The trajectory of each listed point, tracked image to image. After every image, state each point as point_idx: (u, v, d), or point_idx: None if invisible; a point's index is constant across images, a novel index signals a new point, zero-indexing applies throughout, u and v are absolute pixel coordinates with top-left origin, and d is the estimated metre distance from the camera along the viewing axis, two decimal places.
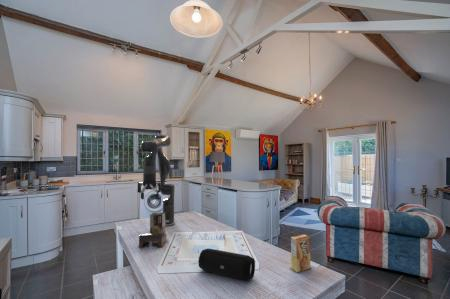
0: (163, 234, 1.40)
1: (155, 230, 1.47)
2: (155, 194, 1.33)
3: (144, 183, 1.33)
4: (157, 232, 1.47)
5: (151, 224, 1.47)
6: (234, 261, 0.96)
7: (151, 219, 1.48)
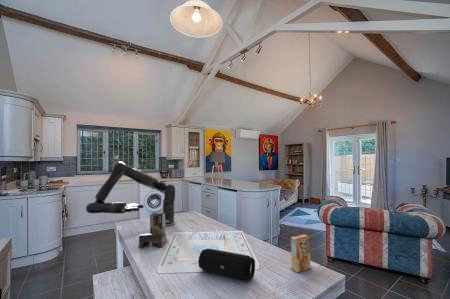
0: (163, 234, 1.40)
1: (155, 230, 1.47)
2: (134, 210, 1.46)
3: None
4: (157, 232, 1.47)
5: (151, 224, 1.47)
6: (234, 261, 0.96)
7: (151, 219, 1.48)
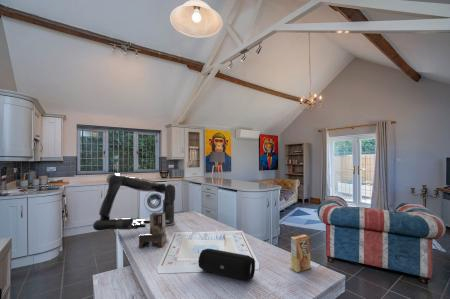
0: (163, 234, 1.40)
1: (155, 230, 1.47)
2: None
3: None
4: (157, 232, 1.47)
5: (151, 224, 1.47)
6: (234, 261, 0.96)
7: (151, 219, 1.48)
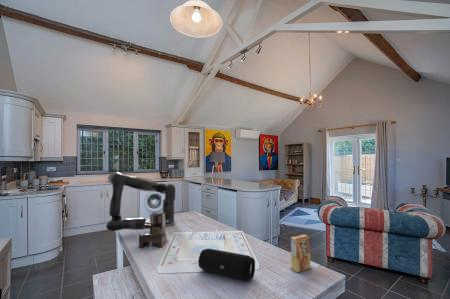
0: (163, 234, 1.40)
1: (155, 230, 1.47)
2: (155, 226, 1.47)
3: None
4: (157, 232, 1.47)
5: None
6: (234, 261, 0.96)
7: (151, 219, 1.48)
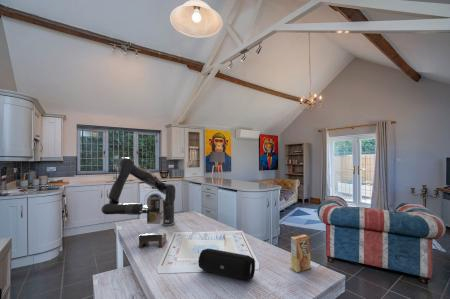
0: (163, 234, 1.40)
1: (152, 215, 1.41)
2: (152, 211, 1.41)
3: None
4: (154, 218, 1.41)
5: None
6: (234, 261, 0.96)
7: (148, 204, 1.41)
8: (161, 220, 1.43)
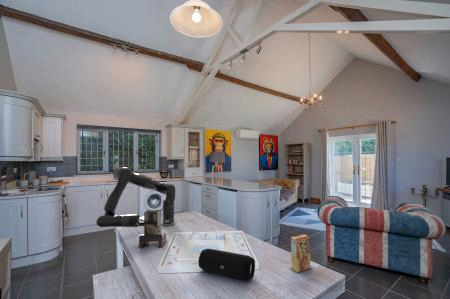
0: (163, 234, 1.40)
1: (150, 229, 1.34)
2: None
3: None
4: (151, 231, 1.34)
5: None
6: (234, 261, 0.96)
7: (145, 217, 1.35)
8: None
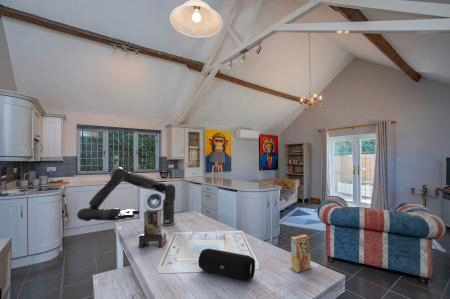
0: (163, 234, 1.40)
1: (150, 229, 1.34)
2: (128, 217, 1.35)
3: None
4: (151, 231, 1.34)
5: (145, 222, 1.35)
6: (234, 261, 0.96)
7: (145, 217, 1.35)
8: None
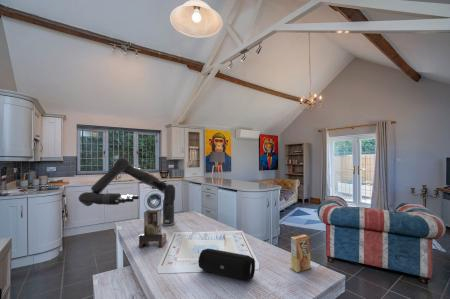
0: (163, 234, 1.40)
1: (150, 229, 1.34)
2: (128, 201, 1.39)
3: None
4: (151, 231, 1.34)
5: (145, 222, 1.35)
6: (234, 261, 0.96)
7: (145, 217, 1.35)
8: None
